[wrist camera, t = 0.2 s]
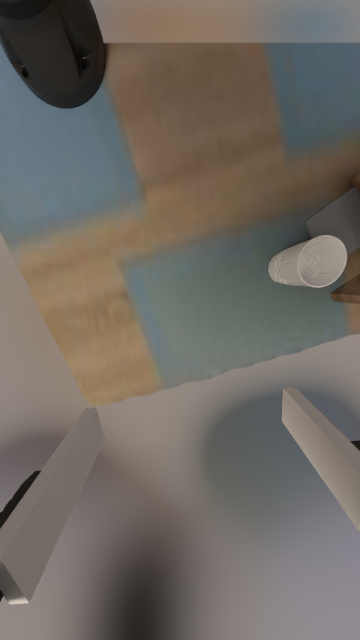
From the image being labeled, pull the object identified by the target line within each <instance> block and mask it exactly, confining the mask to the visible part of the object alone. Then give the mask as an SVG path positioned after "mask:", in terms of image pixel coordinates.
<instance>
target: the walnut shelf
mask: <svg viewBox="0 0 360 640" xmlns="http://www.w3.org/2000/svg"><path fill="white" fill-rule="evenodd" d="M351 182H352V184H353V187H355V186H357V189H358V191H359V194H360V174H358V175H357V176H355V177H354V178H353V179H351ZM330 295H331V297H332V299H333V301H339V302H347V303H356V304H360V275H358V276H357V277H355V278H353V279H352V280H350V281H349V282H347V283H346V284H344V285H343V286H341V287H339V288H338V289H336V290H335V291H333V292H332V293H330Z"/></svg>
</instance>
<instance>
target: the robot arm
mask: <svg viewBox="0 0 360 640" xmlns="http://www.w3.org/2000/svg"><path fill="white" fill-rule="evenodd" d="M0 43H1V45H2V47H3V49H4V51H5V54H6V56H7V58H8V59H9V61H10V63H11V64H12V66H13V68H14V69H15V71H16V72H17V73H18V75H19V76H20V77H21V79H22V80H23V81H24V83H25V84H26V85H27V87H28V88H29V89H30V90H31V91H32V92H33V93H34V94H35V95H36V96H37V97H38V98H40V99H41V100H43V101H44V102H46V103H48V104H50V105H53V106H56V107H61V108H71V107H75V106H78V105H81V104H83V103H84V102H86V101H87V100H88V99H89V98H90V97H91V96H92V95H93V94H94V93H95V91H96V90H97V88H98V86H99V84H100V82H101V79H102V76H103V72H104V66H105V49H104V43H103V38H102V35H101V31H100V28H99V25H98V21H97V18H96V15H95V12H94V10H93V7H92V5H91V2H90V0H0ZM282 422H283V423H284V425H285V426H286V427H287V429H288V430H289V432H290V433H291V435H292V436H293V437H294V439H295V440H296V442H297V443H298V444H299V446H300V447H301V449H302V450H303V452H304V453H305V455H306V456H307V458H308V459H309V460H310V462H311V463H312V465H313V466H314V468H315V469H316V470H317V472H318V473H319V475H320V476H321V478H322V479H323V480H324V482H325V483H326V485H327V486H328V487H329V489H330V490H331V492H332V493H333V495H334V496H335V498H336V499H337V500H338V502H339V503H340V505H341V506H342V507H343V509H344V511H345V512H346V513H347V515H348V516H349V518H350V519H351V520H352V522H353V523H354V525H355V526H356V528H357V529H358V531H359V532H360V441H351V442H350V441H349V440H348V439H347V438H346V437H345V436H344V435H343V434H342V433H341V432H340V431H339V430H338V429H337V428H336V427H335V426H333V424H332V423H331V422H330V421H329V420H328V419H326V418H325V417H324V416H323V415H322V414H321V413H320V412H319V411H318V410H317V409H316V408H315V407H314V406H313V405H312V404H311V403H310V402H309V401H308V400H307V399H306V398H305V397H304V396H303V395H302V394H301V393H300V392H299V391H298V390H297V389H296V388H295V387H291V388H284V389H283V407H282ZM104 439H105V437H104V433H103V430H102V427H101V423H100V420H99V417H98V413H97V410H96V408H87V409H85V410H84V411H83V413H82V414H81V415H80V417H79V419H78V420H77V421H76V423H75V424H74V425H73V427H72V428H71V430H70V431H69V432H68V434H67V435H66V437H65V438H64V440H63V441H62V443H61V444H60V445H59V447H58V448H57V449H56V451H55V452H54V454H53V455H52V457H51V458H50V459H49V461H48V462H47V464H46V465H45V466H44V468H43V470H42V471H35V472H34V473H33V474H32V475H31V476H30V477H29V478H28V479H27V480H26V481H25V482H24V483H23V484H22V485H21V486H20V488H19V489H18V491H17V492H16V493H15V494H14V496H13V498H12V499H11V500H10V501H9V502H8V504H7V505H6V506H5V508H4V510H3V511H2V512H1V513H0V601H1V599H2V598H3V596H4V597H5V599H6V600H7V601H8V603H9V604H21V603H29V602H30V600H31V598H32V596H33V593H34V591H35V589H36V587H37V585H38V583H39V581H40V578H41V576H42V574H43V572H44V570H45V567H46V565H47V563H48V561H49V559H50V556H51V554H52V552H53V550H54V548H55V546H56V543H57V541H58V539H59V537H60V535H61V533H62V530H63V528H64V526H65V524H66V522H67V520H68V517H69V515H70V513H71V511H72V509H73V506H74V504H75V502H76V500H77V498H78V495H79V493H80V491H81V489H82V487H83V485H84V482H85V480H86V478H87V476H88V474H89V471H90V469H91V467H92V465H93V463H94V461H95V458H96V456H97V454H98V452H99V450H100V448H101V445H102V443H103V441H104Z"/></svg>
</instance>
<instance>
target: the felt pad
mask: <svg viewBox="0 0 360 640" xmlns="http://www.w3.org/2000/svg"><path fill="white" fill-rule="evenodd" d="M303 223H304V225H305V227H306V229H307V231H308V233H309V235H310V237H311V239H313V238H315V237H318V236H321V235H331V236H335V237H337V238H338V239H340V240H341V241H342V242H343V244H344V245H345V248H346V251H347V256H348V255H349V254H351V253H352V252H354V251H355V250H357V249H358V248H360V194H359V191H358V189H357V186H355V187H353V188H352V189H350V190H349V191H347V192H346V193H344V194H343V195H342V196H340V197H339V198H337V199H336V200H335V201H333V202H332V203H330V204H329V205H327V206H326V207H325V208H323V209H322V210H320V211H319V212H317V213H316V214H315V215H313V216H312V217H310V218H309V219H308V220H306V221H305V222H303Z"/></svg>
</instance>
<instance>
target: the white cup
mask: <svg viewBox="0 0 360 640" xmlns="http://www.w3.org/2000/svg"><path fill="white" fill-rule="evenodd" d="M346 263H347V251H346V248H345V245H344V244H343V242H342V241H341V240H340V239H338V238H337V237H335V236H331V235H321V236H318V237H315V238H313V239H310V240H308V241H305V242H302V243H300V244H297V245H295V246H292V247H290V248H288V249H286V250H283V251H281V252H279V253H277V254H276V255H274V256H273V258H272V259H271V261H270V262H269V267H268V272H269V276H270V278H271V279H272V280H273V281H274V282H277V283H280V284H287V285H294V286H305V287H316V288H319V287H325V286H328V285H330V284H332V283H333V282H334V281H336V280H337V279H338V278H339V277H340V275H341V274H342V273H343V271H344V269H345V266H346Z"/></svg>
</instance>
